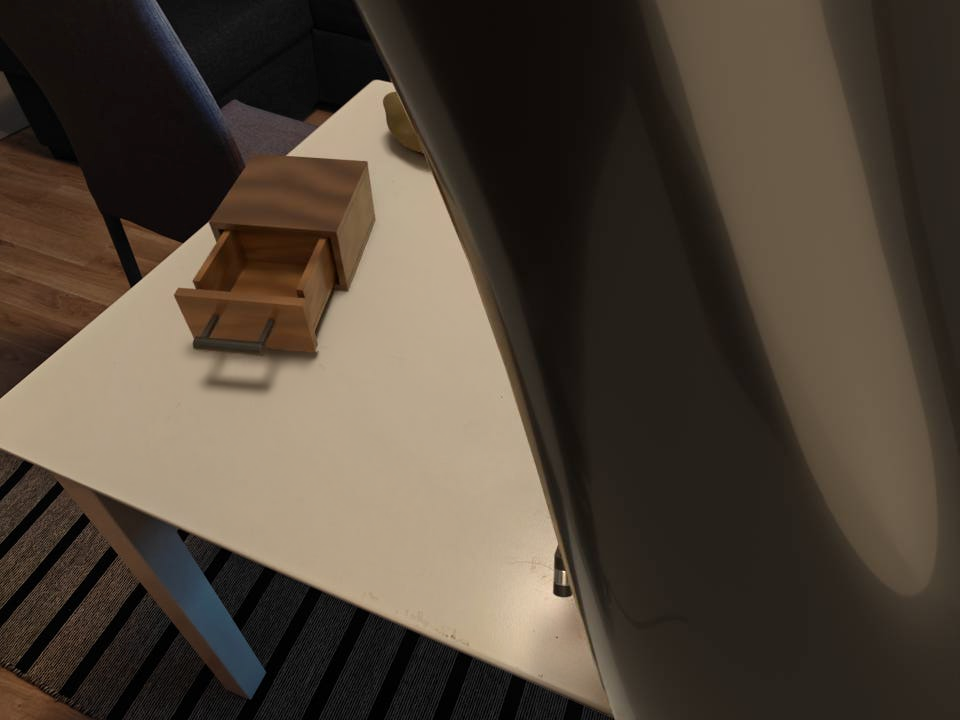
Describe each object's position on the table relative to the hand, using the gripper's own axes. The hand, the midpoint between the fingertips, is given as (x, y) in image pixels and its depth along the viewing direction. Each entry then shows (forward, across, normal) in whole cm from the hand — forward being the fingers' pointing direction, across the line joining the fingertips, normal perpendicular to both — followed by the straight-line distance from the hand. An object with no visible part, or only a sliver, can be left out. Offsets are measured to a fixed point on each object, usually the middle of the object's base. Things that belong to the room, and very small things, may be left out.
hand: (629, 530), depth 50 cm
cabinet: (+35, +35, -25) cm, 55 cm away
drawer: (+24, +36, -16) cm, 46 cm away
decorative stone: (+53, +21, -43) cm, 71 cm away
